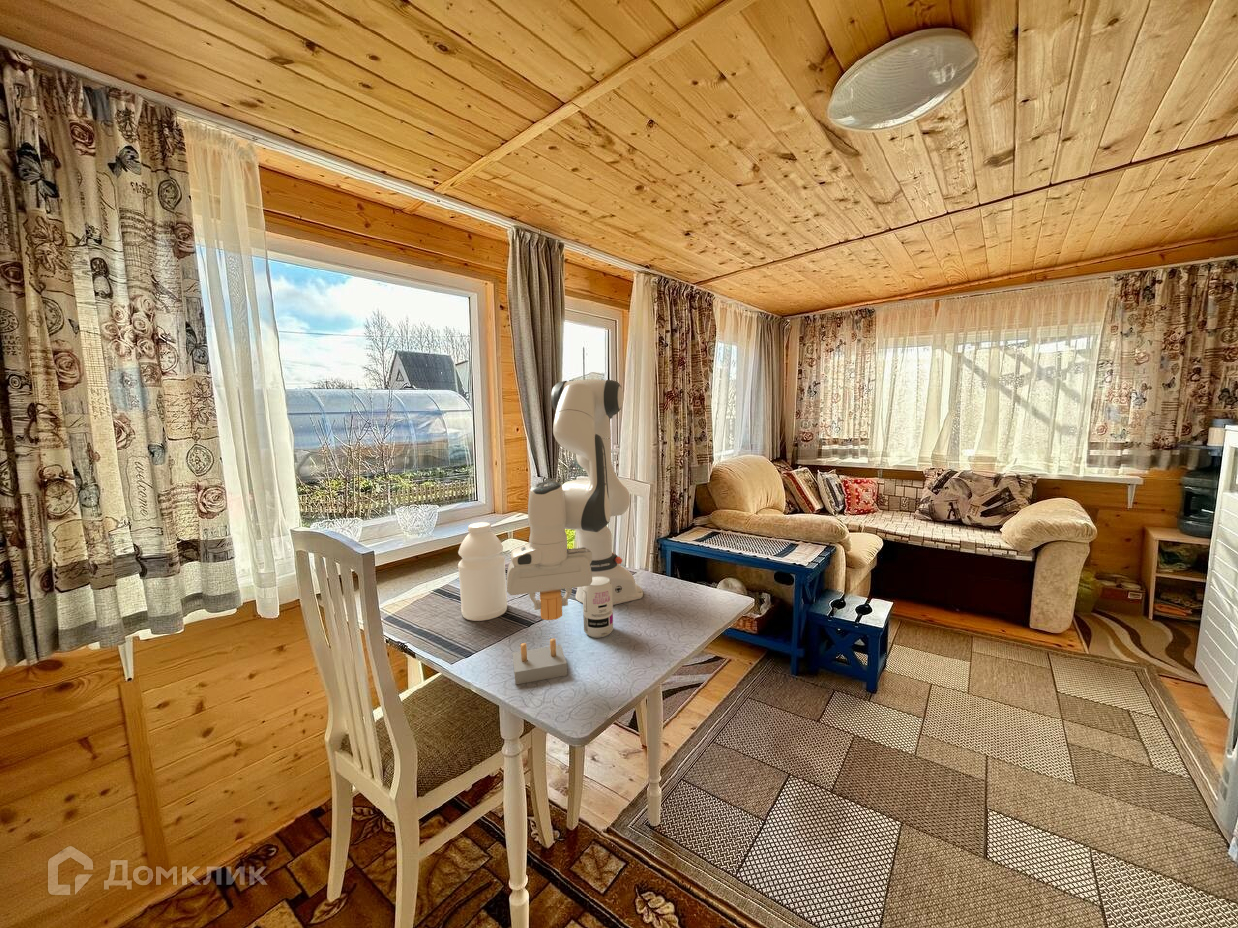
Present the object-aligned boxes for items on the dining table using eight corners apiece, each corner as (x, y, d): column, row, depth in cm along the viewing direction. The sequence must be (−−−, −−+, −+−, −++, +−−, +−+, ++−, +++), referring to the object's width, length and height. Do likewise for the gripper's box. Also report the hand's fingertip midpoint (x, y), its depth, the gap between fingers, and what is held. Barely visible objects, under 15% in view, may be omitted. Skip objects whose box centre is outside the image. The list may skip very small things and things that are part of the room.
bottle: (495, 623, 137) (489, 531, 133) (452, 620, 139) (446, 530, 136) (514, 603, 150) (510, 519, 147) (476, 601, 153) (470, 518, 150)
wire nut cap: (560, 609, 114) (559, 586, 113) (563, 618, 109) (562, 594, 109) (539, 612, 113) (538, 588, 112) (542, 621, 108) (541, 596, 107)
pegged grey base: (561, 655, 118) (560, 629, 117) (567, 675, 109) (565, 647, 108) (513, 664, 115) (511, 637, 114) (515, 684, 106) (513, 656, 105)
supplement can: (597, 622, 136) (595, 573, 134) (619, 630, 131) (617, 579, 129) (578, 633, 130) (576, 581, 128) (600, 641, 124) (598, 588, 123)
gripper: (588, 543, 115) (590, 596, 117) (504, 551, 110) (507, 607, 111) (594, 550, 109) (596, 606, 111) (505, 559, 104) (508, 618, 105)
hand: (551, 607), depth 111 cm, fingers closed on wire nut cap, 5 cm apart
